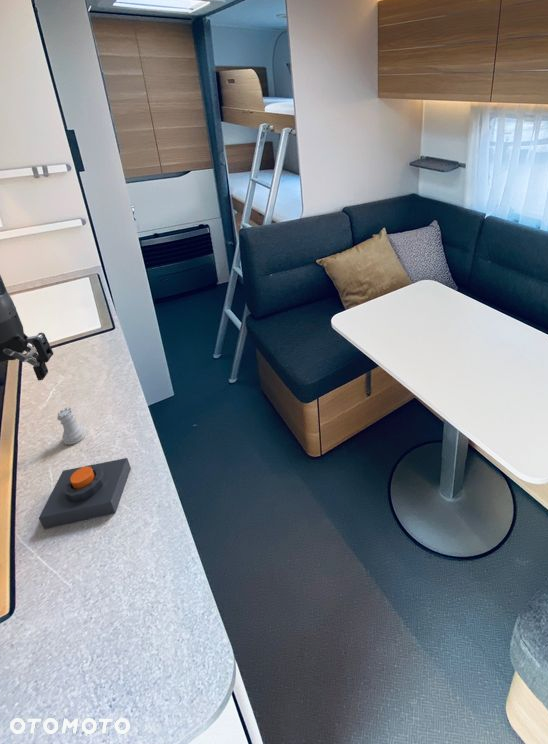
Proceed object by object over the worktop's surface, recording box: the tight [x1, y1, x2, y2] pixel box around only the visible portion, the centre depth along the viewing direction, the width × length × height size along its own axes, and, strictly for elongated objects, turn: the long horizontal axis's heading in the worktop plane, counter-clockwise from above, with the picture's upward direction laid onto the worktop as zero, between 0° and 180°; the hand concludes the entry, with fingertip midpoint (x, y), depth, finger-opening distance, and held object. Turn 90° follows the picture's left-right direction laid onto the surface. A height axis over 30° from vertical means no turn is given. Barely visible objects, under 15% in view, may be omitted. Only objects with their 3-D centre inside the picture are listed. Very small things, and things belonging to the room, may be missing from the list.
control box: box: [38, 457, 132, 530], centre depth 81 cm, size 12×10×5 cm
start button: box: [70, 465, 95, 489], centre depth 79 cm, size 4×4×2 cm
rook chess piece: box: [56, 407, 87, 445], centre depth 93 cm, size 4×4×8 cm
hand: (19, 381), depth 87 cm, fingers open, 8 cm apart
